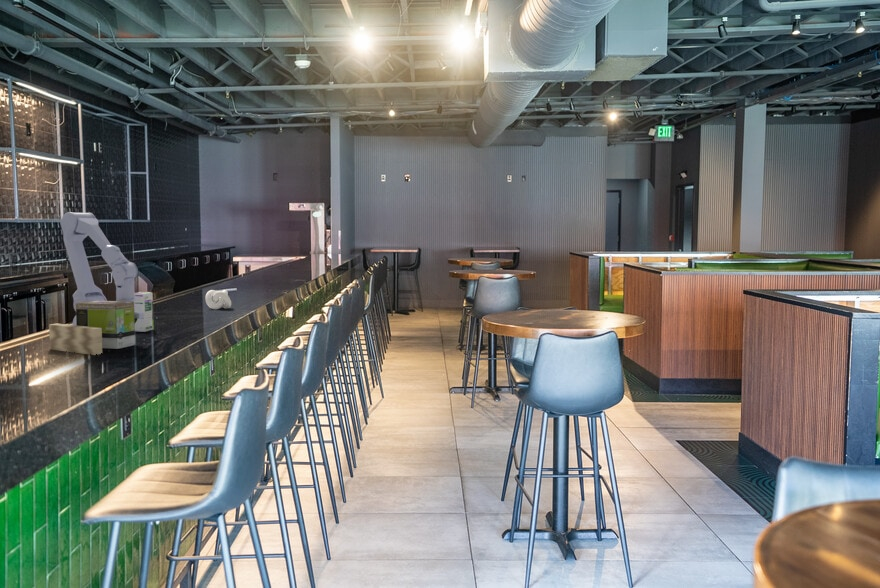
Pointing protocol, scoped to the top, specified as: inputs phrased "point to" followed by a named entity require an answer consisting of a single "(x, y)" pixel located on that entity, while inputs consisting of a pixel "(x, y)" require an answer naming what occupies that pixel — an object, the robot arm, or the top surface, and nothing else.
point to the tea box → (109, 321)
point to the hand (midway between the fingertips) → (126, 338)
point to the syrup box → (144, 311)
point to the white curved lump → (218, 299)
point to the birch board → (75, 338)
